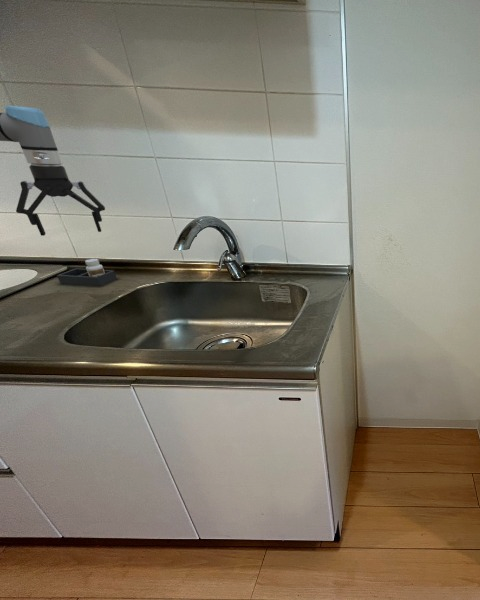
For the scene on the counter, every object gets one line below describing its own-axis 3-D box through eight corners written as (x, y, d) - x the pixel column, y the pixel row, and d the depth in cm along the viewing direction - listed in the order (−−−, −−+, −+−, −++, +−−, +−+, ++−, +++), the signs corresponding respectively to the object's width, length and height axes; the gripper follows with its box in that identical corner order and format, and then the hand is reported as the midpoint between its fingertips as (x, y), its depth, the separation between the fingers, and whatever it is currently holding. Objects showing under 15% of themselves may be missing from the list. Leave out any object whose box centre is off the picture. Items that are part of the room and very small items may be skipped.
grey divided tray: (100, 286, 109) (96, 277, 108) (60, 284, 109) (56, 275, 107) (117, 279, 116) (113, 270, 114) (79, 276, 115) (75, 268, 114)
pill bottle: (93, 283, 110) (85, 263, 107) (89, 280, 112) (81, 260, 109) (109, 280, 113) (101, 260, 110) (105, 276, 115) (97, 257, 112)
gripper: (-22, 164, 85) (14, 239, 94) (100, 167, 100) (121, 232, 109) (-14, 162, 90) (19, 233, 99) (101, 165, 105) (120, 227, 114)
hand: (72, 232), depth 104 cm, fingers open, 13 cm apart
